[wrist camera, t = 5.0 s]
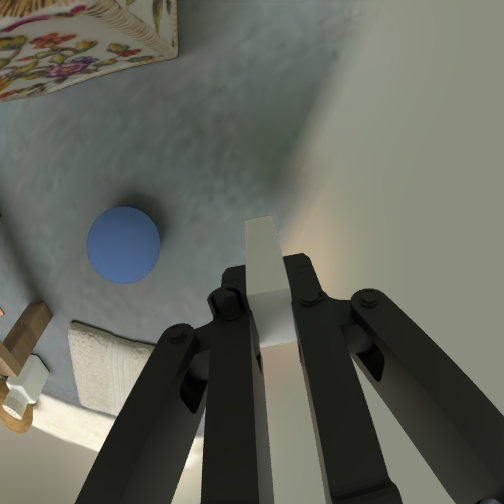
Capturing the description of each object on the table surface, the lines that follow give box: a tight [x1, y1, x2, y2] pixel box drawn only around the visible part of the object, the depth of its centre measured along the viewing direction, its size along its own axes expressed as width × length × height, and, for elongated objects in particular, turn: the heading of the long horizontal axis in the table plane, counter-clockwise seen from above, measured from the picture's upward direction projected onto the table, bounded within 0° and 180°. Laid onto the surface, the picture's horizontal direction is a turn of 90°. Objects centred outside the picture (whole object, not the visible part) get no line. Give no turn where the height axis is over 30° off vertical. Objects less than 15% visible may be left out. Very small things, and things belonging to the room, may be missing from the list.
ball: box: [87, 207, 160, 284], centre depth 19 cm, size 6×6×6 cm
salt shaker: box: [2, 355, 49, 419], centre depth 26 cm, size 4×4×10 cm
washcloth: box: [67, 322, 155, 416], centre depth 31 cm, size 12×18×3 cm, turn 162°
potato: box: [0, 379, 33, 434], centre depth 32 cm, size 10×14×8 cm
